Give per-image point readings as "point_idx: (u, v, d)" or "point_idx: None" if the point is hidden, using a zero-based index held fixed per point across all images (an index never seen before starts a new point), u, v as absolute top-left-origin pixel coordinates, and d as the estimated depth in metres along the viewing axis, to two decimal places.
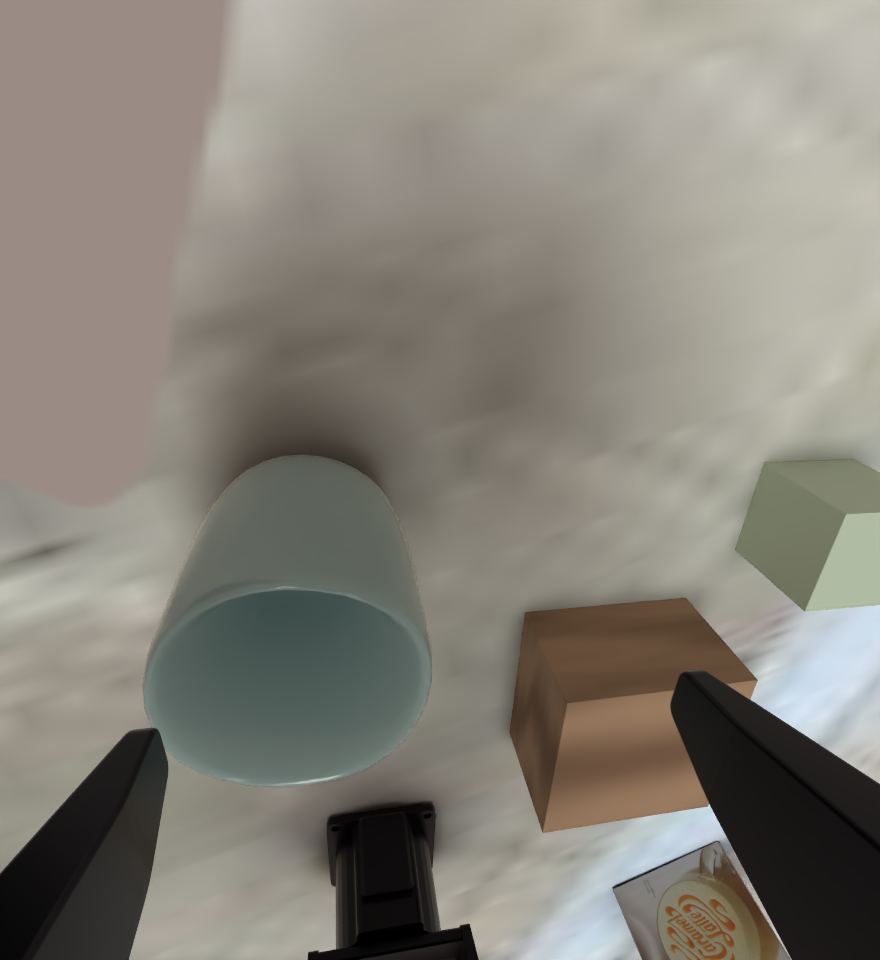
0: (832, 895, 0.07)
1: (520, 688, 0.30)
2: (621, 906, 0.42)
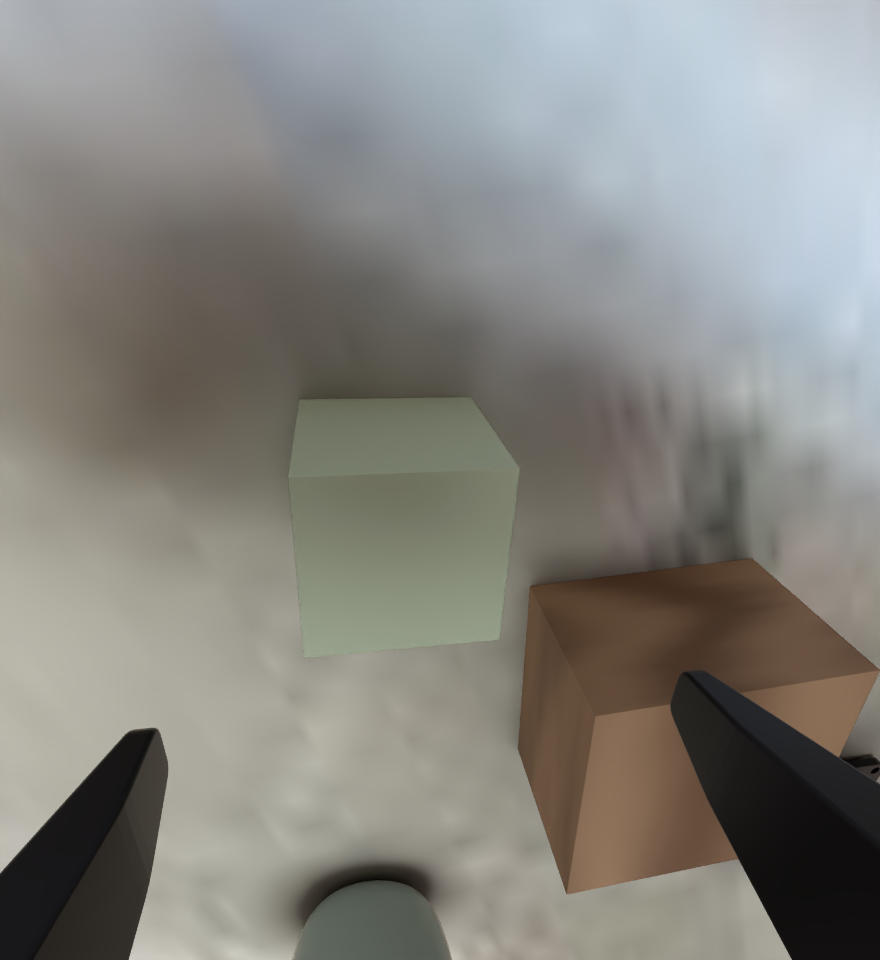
0: (832, 895, 0.07)
1: None
2: None
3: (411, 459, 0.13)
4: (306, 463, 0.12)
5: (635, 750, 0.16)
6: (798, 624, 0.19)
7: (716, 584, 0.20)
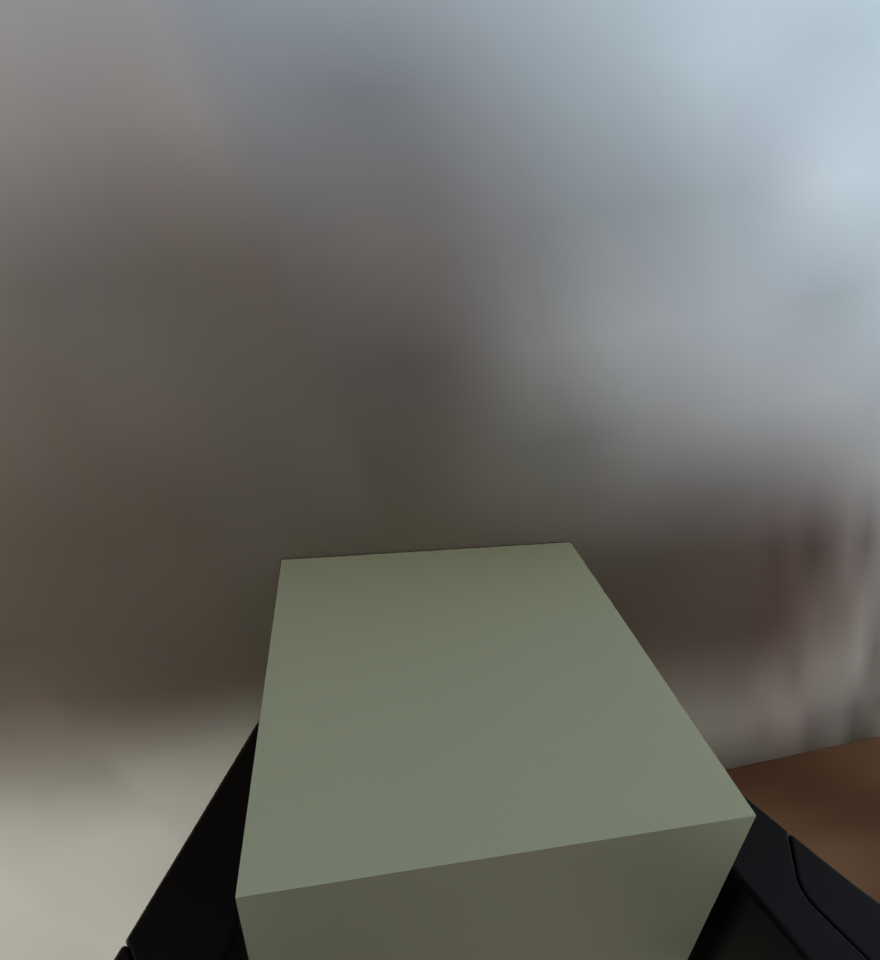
0: None
1: None
2: None
3: (513, 784, 0.06)
4: (283, 818, 0.05)
5: None
6: None
7: None
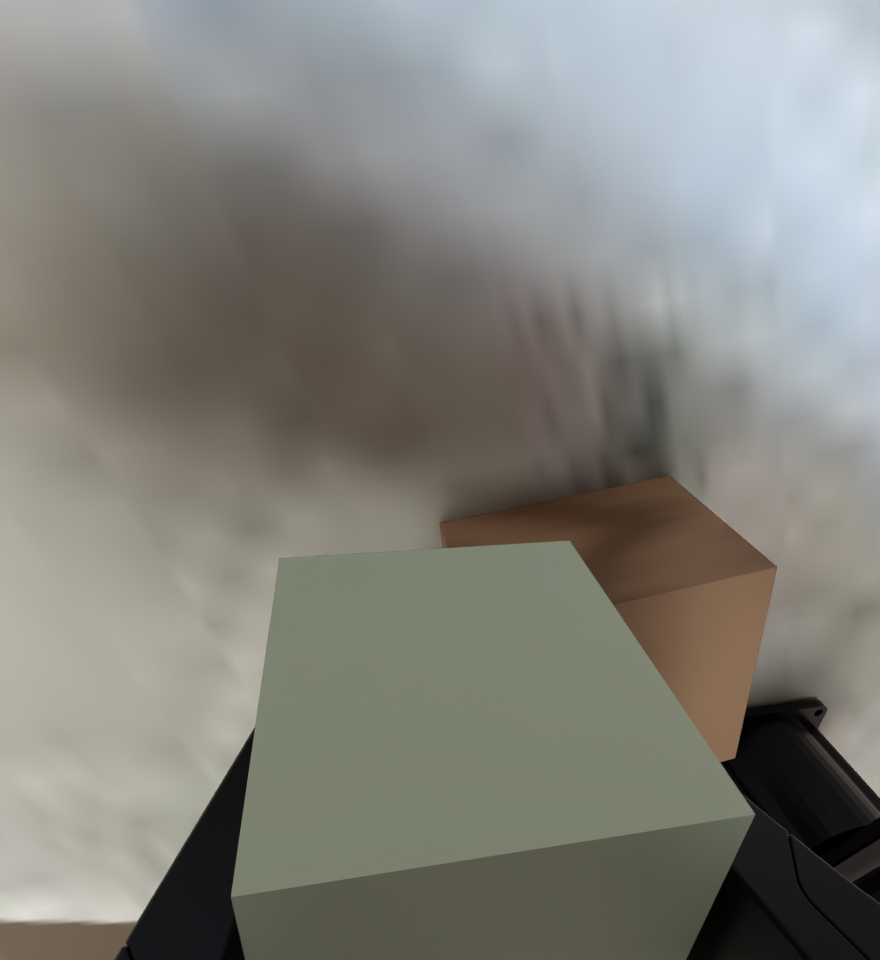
0: None
1: None
2: None
3: (510, 783, 0.06)
4: (279, 817, 0.05)
5: None
6: (702, 532, 0.18)
7: (627, 503, 0.20)
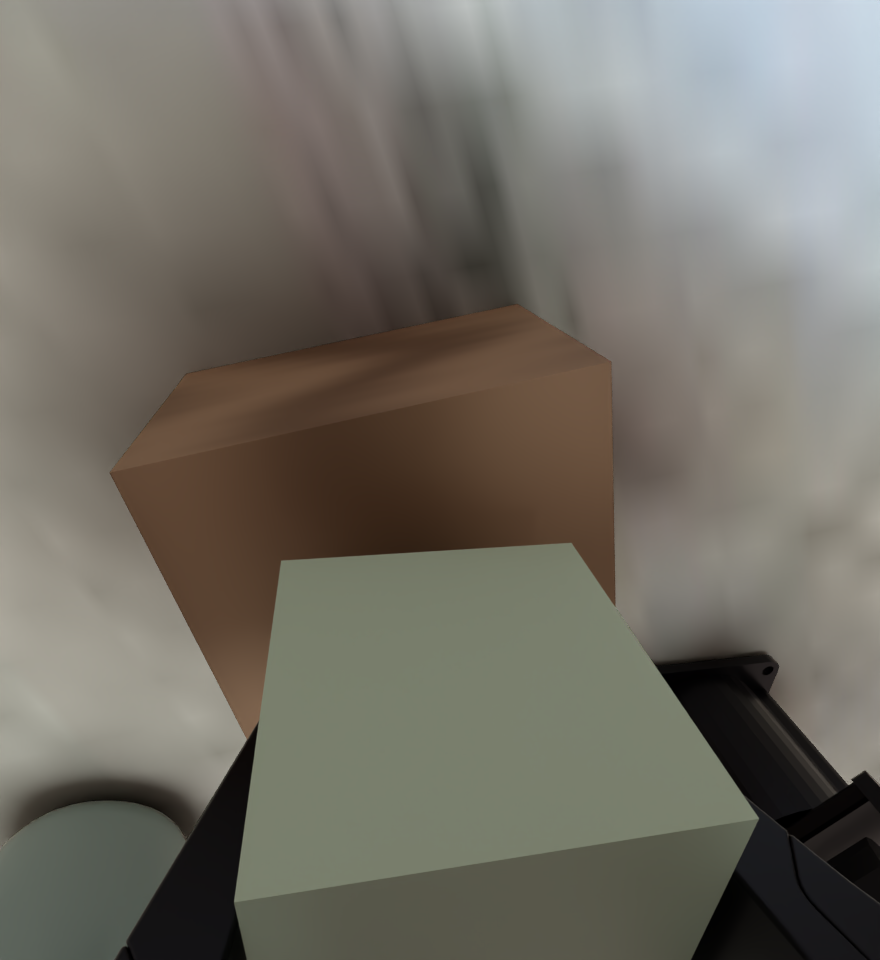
0: None
1: None
2: None
3: (513, 787, 0.06)
4: (282, 821, 0.05)
5: (228, 536, 0.10)
6: (524, 342, 0.12)
7: (443, 331, 0.14)
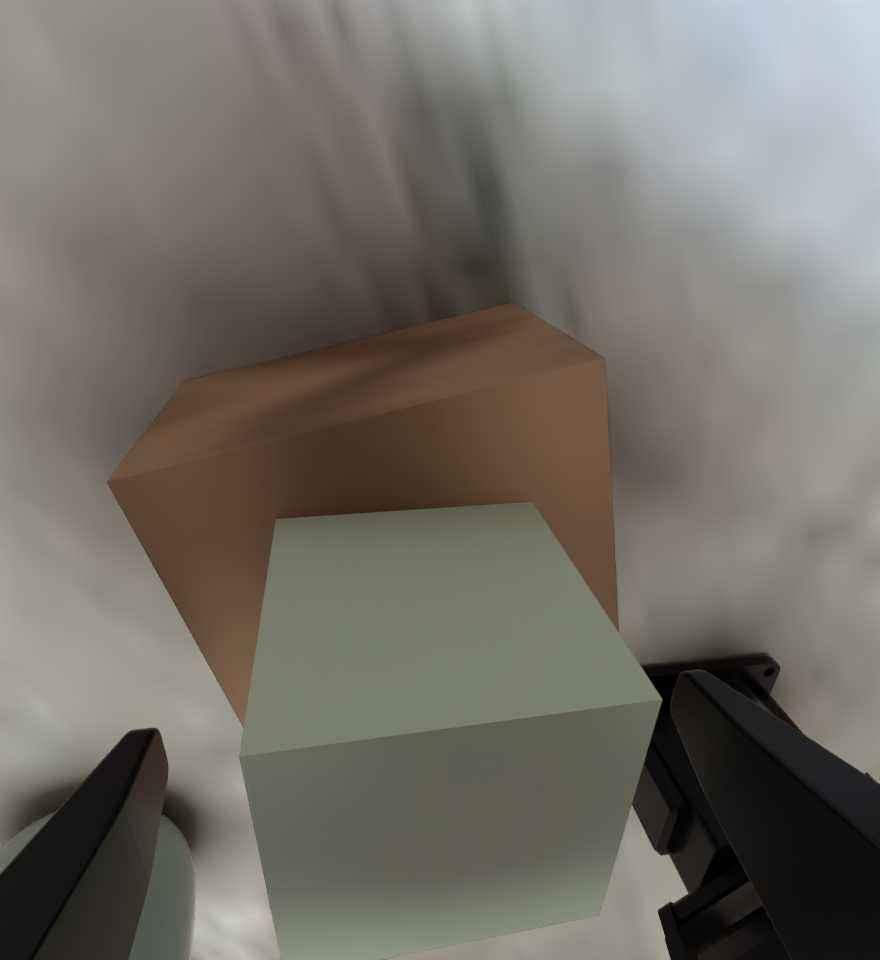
0: (832, 895, 0.07)
1: None
2: None
3: (465, 680, 0.07)
4: (277, 704, 0.07)
5: (227, 542, 0.11)
6: (519, 341, 0.12)
7: (438, 331, 0.14)
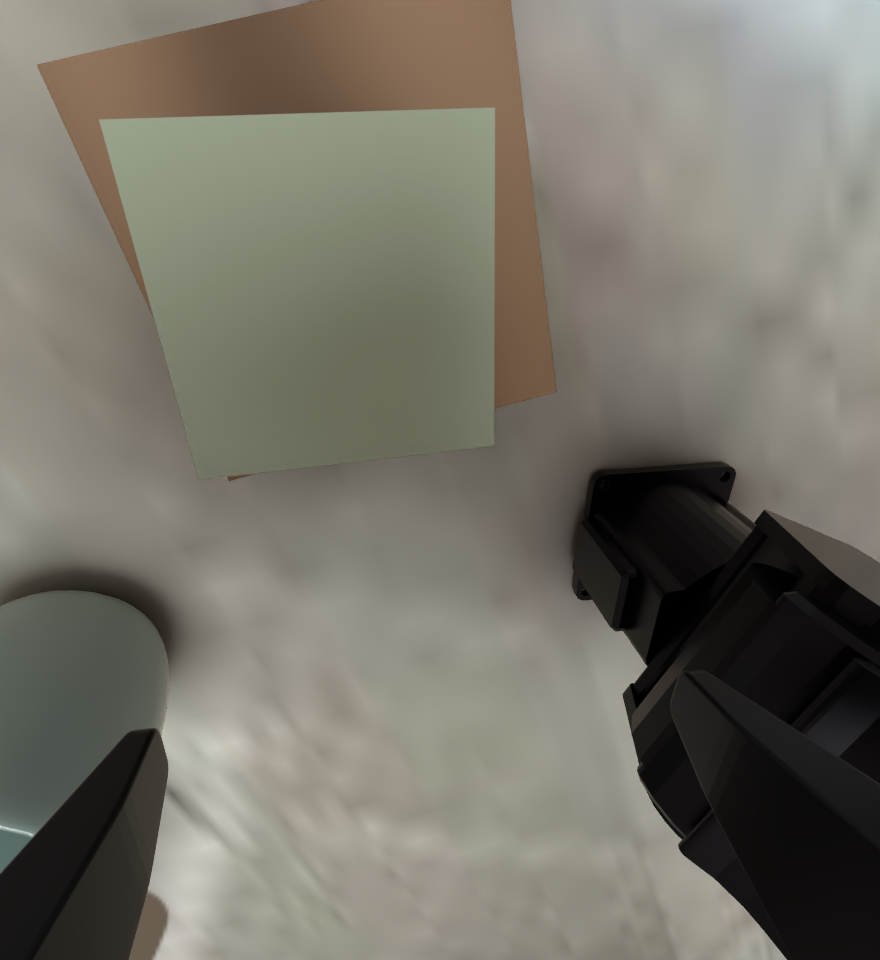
0: (832, 895, 0.07)
1: None
2: None
3: None
4: None
5: None
6: None
7: None
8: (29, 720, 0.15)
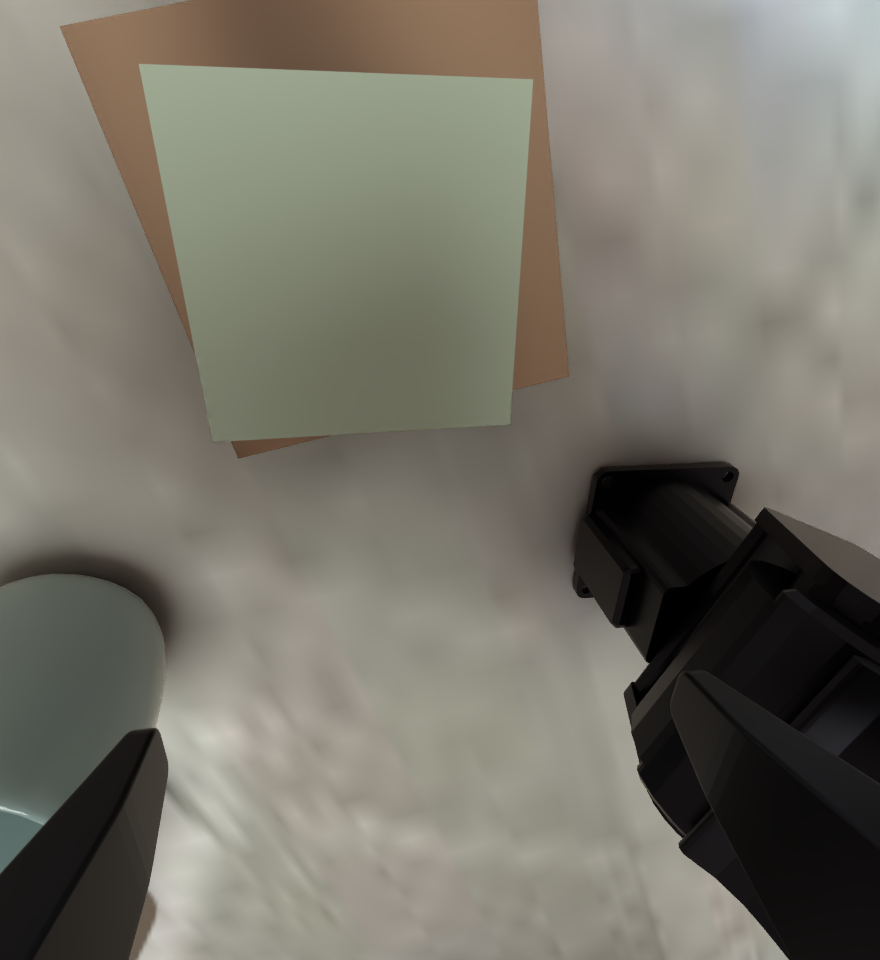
0: (832, 895, 0.07)
1: None
2: None
3: None
4: None
5: None
6: None
7: None
8: (25, 701, 0.15)
